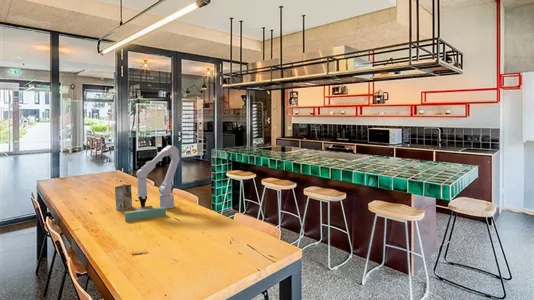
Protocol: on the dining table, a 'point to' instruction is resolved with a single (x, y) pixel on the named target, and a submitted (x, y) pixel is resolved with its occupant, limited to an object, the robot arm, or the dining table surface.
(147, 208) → the walnut block
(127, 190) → the coffee box
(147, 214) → the teal board
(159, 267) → the dining table surface
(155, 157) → the robot arm
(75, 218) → the dining table surface
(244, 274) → the dining table surface
